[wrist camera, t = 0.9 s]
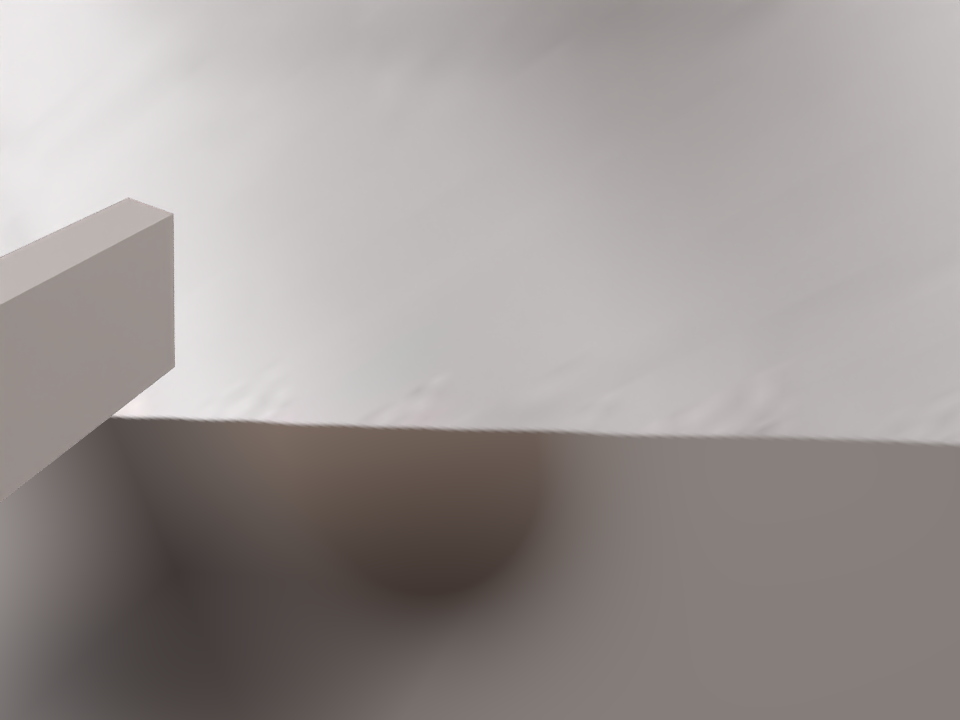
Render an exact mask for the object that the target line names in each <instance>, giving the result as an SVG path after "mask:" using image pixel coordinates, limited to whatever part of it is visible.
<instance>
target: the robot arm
mask: <svg viewBox="0 0 960 720" xmlns="http://www.w3.org/2000/svg"><path fill="white" fill-rule="evenodd" d="M174 367H175V345H174V223H173V213H170V212H167V211H164V210H162V209H159V208H156V207H153V206H150V205H147V204H145V203H142V202H139V201H136V200H133V199H130V198H127V199H124V200H122V201H120V202H118V203H116V204H114V205H111V206H109V207H107V208H105V209H103V210H101V211H99V212H96V213H94V214H92V215H90V216H88V217H86V218H84V219H81V220H79V221H77V222H75V223H73V224H71V225H69V226H66V227H64V228H62V229H60V230H58V231H56V232H53V233H51V234H49V235H47V236H45V237H43V238H41V239H38V240H36V241H34V242H32V243H30V244H28V245H26V246H23V247H21V248H19V249H17V250H15V251H13V252H11V253H8V254H6V255H4V256H2V257H0V502H1V501H2V500H4V499H5V498H6V497H7V496H9V495H10V494H11V493H12V492H14V491H15V490H16V489H18V488H19V487H20V486H21V485H23V484H24V483H26V482H27V481H28V480H29V479H31V478H32V477H33V476H35V475H36V474H37V473H38V472H40V471H41V470H42V469H44V468H45V467H46V466H47V465H49V464H50V463H51V462H53V461H54V460H55V459H56V458H58V457H59V456H60V455H62V454H63V453H64V452H66V451H67V450H68V449H69V448H71V447H72V446H73V445H75V444H76V443H77V442H78V441H80V440H81V439H82V438H83V437H85V436H86V435H87V434H89V433H90V432H91V431H93V430H94V429H95V428H96V427H98V426H99V425H100V424H102V422H104V421H105V420H107V419H108V418H109V417H111V416H112V415H113V414H115V413H116V412H117V411H118V410H120V409H121V408H122V407H124V406H125V405H126V404H127V403H129V402H130V401H131V400H133V399H134V398H135V397H136V396H138V395H139V394H140V393H142V392H143V391H144V390H145V389H147V388H148V387H149V386H151V385H152V384H153V383H155V382H156V381H157V380H158V379H160V378H161V377H162V376H164V375H165V374H166V373H167V372H169V371H170V370H171V369H173V368H174Z"/></svg>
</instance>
